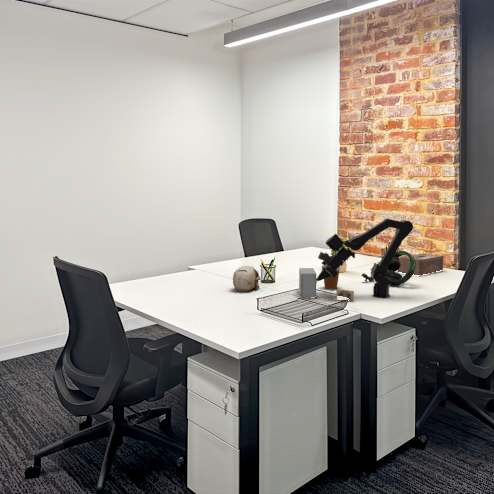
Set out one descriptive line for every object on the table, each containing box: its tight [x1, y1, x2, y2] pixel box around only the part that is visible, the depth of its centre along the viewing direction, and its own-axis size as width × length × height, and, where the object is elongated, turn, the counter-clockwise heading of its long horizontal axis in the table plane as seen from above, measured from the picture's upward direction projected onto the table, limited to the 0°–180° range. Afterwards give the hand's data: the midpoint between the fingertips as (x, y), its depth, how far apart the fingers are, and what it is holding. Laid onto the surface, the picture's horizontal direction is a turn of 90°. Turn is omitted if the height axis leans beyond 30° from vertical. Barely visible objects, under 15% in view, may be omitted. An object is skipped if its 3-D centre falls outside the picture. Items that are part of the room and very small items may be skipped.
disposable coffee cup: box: [322, 264, 341, 290], centre depth 273 cm, size 10×10×12 cm
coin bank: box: [232, 265, 261, 293], centre depth 272 cm, size 16×17×13 cm
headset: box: [361, 250, 416, 287], centre depth 281 cm, size 18×14×29 cm
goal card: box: [335, 288, 355, 303], centre depth 244 cm, size 8×1×5 cm, turn 63°
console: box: [298, 267, 317, 299], centre depth 258 cm, size 8×16×12 cm, turn 178°
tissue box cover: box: [397, 253, 444, 275], centre depth 318 cm, size 26×14×10 cm, turn 129°
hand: (316, 280), depth 254 cm, fingers closed, pressing on plunger
